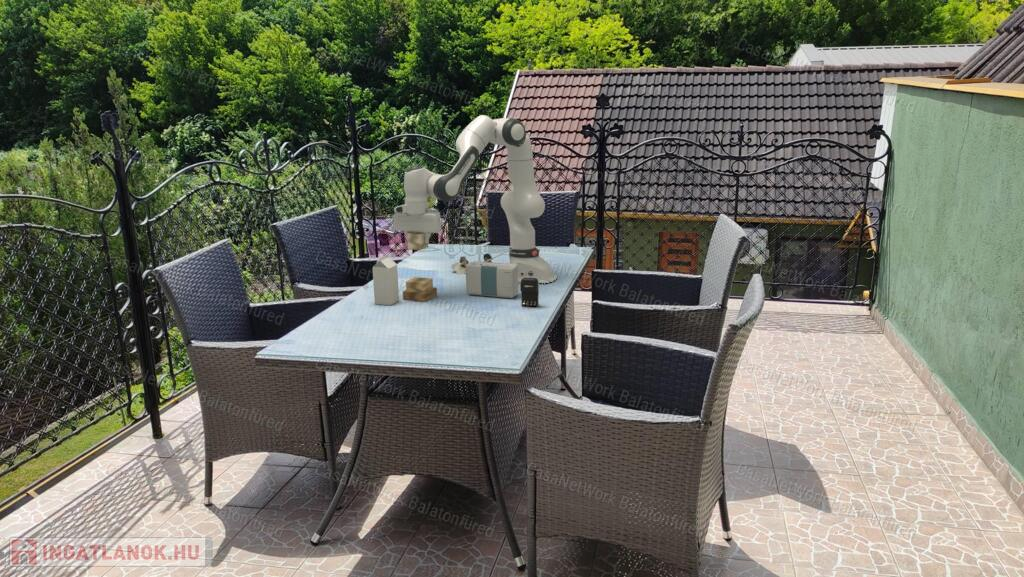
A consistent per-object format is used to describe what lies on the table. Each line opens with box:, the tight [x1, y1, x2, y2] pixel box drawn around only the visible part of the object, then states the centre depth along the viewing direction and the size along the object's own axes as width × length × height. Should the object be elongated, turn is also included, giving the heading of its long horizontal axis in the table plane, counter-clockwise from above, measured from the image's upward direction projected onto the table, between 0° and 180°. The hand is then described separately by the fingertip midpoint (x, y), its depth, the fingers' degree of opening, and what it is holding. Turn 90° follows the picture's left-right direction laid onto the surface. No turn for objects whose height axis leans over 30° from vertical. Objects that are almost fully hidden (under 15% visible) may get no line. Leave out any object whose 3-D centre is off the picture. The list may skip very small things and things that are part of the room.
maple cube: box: [406, 232, 429, 251], centre depth 274 cm, size 6×6×6 cm
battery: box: [519, 277, 540, 307], centre depth 265 cm, size 7×4×11 cm, turn 76°
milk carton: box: [372, 253, 400, 306], centre depth 272 cm, size 7×7×19 cm
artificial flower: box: [450, 252, 494, 275], centre depth 327 cm, size 9×22×10 cm, turn 131°
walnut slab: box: [402, 286, 438, 303], centre depth 280 cm, size 10×10×4 cm
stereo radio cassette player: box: [465, 248, 519, 299], centre depth 281 cm, size 21×8×20 cm, turn 70°
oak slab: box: [405, 276, 434, 293], centre depth 279 cm, size 8×8×4 cm
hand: (418, 242), depth 275 cm, fingers closed on maple cube, 6 cm apart
